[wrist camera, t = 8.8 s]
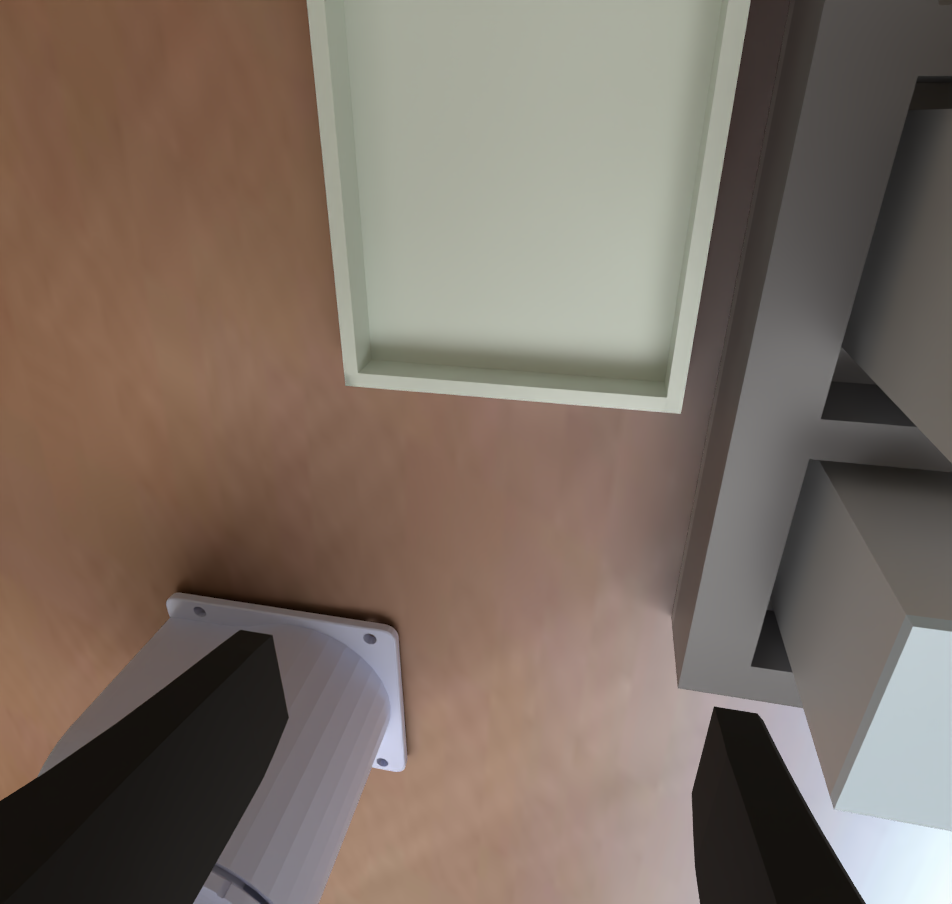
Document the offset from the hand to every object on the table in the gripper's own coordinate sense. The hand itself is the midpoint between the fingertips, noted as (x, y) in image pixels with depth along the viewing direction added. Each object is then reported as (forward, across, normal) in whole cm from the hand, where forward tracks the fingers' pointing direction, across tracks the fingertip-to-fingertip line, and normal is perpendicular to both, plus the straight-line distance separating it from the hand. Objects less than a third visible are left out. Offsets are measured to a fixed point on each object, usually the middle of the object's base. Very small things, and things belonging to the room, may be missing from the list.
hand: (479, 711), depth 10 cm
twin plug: (+9, -9, +2) cm, 13 cm away
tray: (+10, +1, -8) cm, 13 cm away
